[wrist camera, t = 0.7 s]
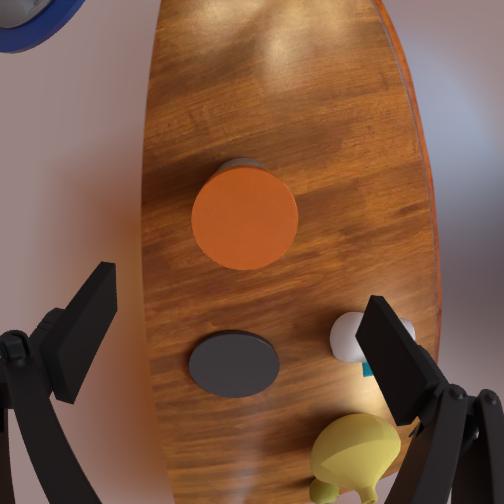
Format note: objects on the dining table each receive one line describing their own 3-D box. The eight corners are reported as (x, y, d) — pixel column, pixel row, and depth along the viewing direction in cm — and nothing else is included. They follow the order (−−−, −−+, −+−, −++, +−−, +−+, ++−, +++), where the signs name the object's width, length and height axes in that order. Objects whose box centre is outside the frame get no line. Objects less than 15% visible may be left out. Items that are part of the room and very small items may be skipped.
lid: (189, 252, 29) (186, 262, 27) (201, 157, 26) (198, 160, 24) (282, 265, 30) (286, 276, 28) (302, 173, 27) (308, 178, 25)
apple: (324, 472, 64) (337, 504, 56) (336, 471, 69) (348, 501, 61) (298, 483, 66) (309, 514, 58) (312, 482, 70) (323, 510, 63)
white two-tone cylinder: (349, 359, 36) (421, 363, 37) (341, 298, 42) (409, 309, 44) (311, 391, 44) (377, 393, 46) (309, 339, 50) (370, 345, 52)
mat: (187, 388, 50) (187, 392, 49) (192, 324, 44) (191, 328, 44) (268, 396, 51) (269, 400, 50) (287, 335, 46) (288, 339, 45)
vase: (307, 456, 61) (320, 526, 44) (301, 413, 54) (318, 500, 36) (383, 436, 61) (407, 501, 43) (392, 389, 53) (428, 466, 36)
